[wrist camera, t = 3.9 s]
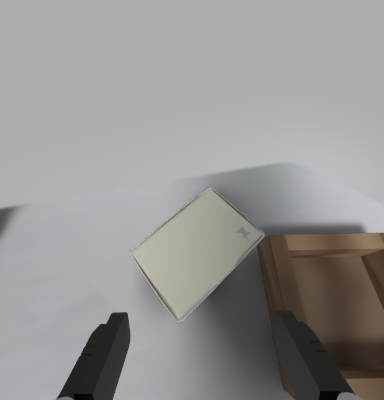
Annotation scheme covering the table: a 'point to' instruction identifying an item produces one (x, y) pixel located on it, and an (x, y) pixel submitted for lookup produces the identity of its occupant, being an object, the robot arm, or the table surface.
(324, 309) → the block
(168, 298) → the skincare box
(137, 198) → the table surface
